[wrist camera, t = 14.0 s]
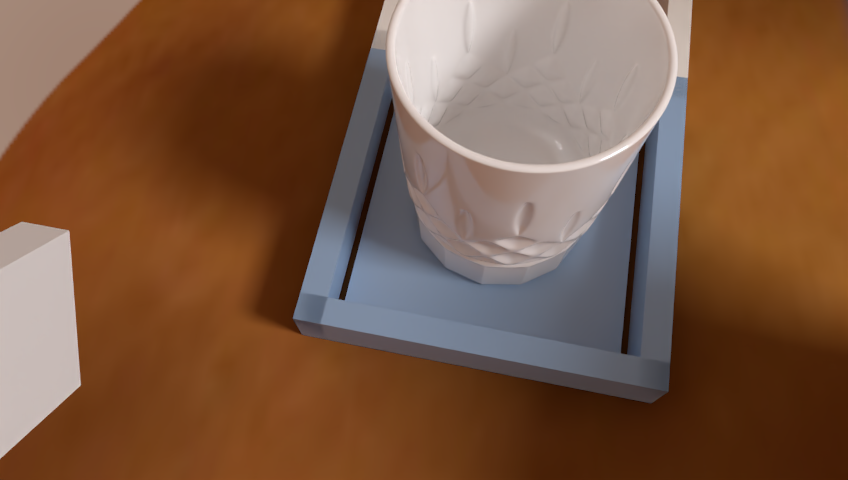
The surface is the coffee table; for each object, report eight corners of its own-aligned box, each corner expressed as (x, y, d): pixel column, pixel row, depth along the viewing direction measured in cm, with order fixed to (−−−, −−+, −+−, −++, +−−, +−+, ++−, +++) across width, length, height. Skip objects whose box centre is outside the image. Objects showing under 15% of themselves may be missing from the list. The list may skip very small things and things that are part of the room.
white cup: (623, 279, 27) (723, 140, 18) (422, 321, 26) (418, 198, 17) (564, 110, 30) (624, -83, 21) (383, 143, 29) (362, -40, 20)
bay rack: (686, -91, 35) (700, -126, 33) (651, 403, 25) (668, 391, 24) (431, -126, 36) (431, -162, 35) (302, 334, 26) (292, 318, 25)
